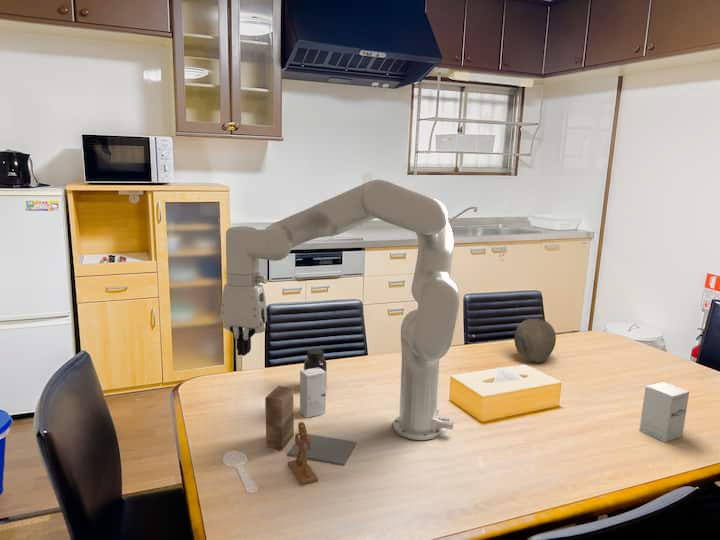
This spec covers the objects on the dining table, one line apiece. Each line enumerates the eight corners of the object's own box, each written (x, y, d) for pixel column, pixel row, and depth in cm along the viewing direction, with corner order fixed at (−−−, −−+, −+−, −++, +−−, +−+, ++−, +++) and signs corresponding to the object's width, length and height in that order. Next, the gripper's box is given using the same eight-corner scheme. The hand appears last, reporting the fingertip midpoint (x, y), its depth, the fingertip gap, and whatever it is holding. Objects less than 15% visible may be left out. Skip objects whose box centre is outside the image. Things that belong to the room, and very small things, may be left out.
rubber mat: (356, 443, 128) (356, 441, 128) (344, 465, 119) (344, 463, 119) (303, 434, 132) (303, 433, 132) (287, 455, 123) (287, 453, 122)
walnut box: (293, 436, 131) (293, 387, 129) (281, 450, 124) (281, 399, 122) (277, 433, 132) (277, 385, 130) (265, 447, 126) (264, 397, 123)
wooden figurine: (287, 465, 119) (287, 416, 116) (303, 461, 120) (303, 412, 118) (301, 486, 111) (301, 434, 108) (318, 481, 113) (318, 430, 110)
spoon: (241, 497, 107) (241, 495, 107) (219, 455, 122) (219, 453, 122) (266, 490, 110) (266, 488, 109) (241, 449, 125) (241, 447, 125)
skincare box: (306, 418, 140) (306, 376, 138) (299, 412, 144) (298, 370, 142) (326, 413, 144) (326, 371, 141) (318, 406, 147) (318, 366, 145)
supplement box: (665, 443, 131) (672, 396, 129) (638, 430, 138) (644, 385, 135) (683, 437, 134) (690, 391, 132) (656, 424, 141) (662, 380, 138)
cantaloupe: (560, 368, 179) (564, 326, 177) (518, 367, 180) (522, 325, 177) (546, 353, 193) (549, 314, 190) (507, 352, 193) (511, 313, 191)
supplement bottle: (299, 390, 157) (299, 353, 155) (310, 382, 164) (310, 346, 161) (320, 395, 155) (320, 356, 153) (330, 386, 161) (330, 349, 159)
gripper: (278, 279, 124) (278, 352, 128) (222, 273, 128) (224, 345, 132) (264, 285, 117) (265, 363, 121) (205, 279, 121) (208, 354, 125)
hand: (243, 353), depth 126 cm, fingers closed
